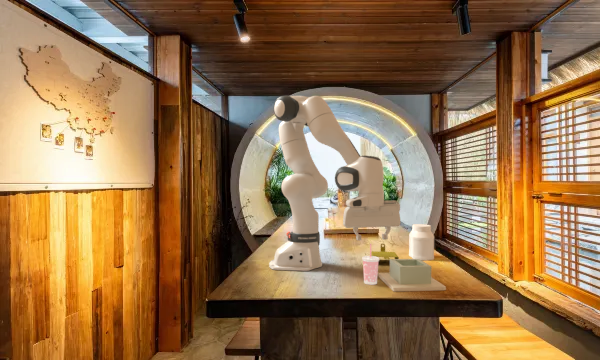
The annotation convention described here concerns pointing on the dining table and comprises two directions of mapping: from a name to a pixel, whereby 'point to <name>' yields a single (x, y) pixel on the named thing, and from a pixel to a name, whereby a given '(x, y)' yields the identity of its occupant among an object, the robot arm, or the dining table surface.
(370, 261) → the beverage cup
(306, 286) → the dining table surface
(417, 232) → the jar
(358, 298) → the dining table surface
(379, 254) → the bracket
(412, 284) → the cup well
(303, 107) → the robot arm
